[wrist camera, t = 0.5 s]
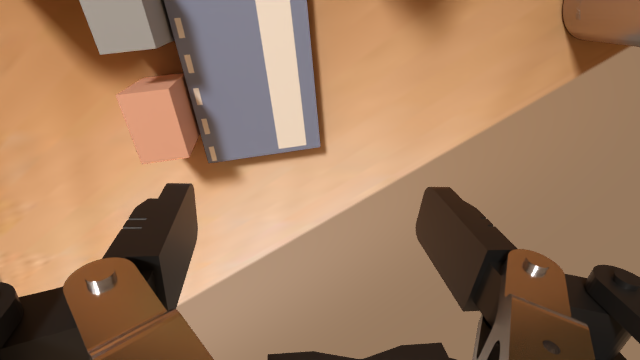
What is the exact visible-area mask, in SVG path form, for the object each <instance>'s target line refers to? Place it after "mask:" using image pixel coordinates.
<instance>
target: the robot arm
mask: <svg viewBox="0 0 640 360" xmlns="http://www.w3.org/2000/svg"><path fill="white" fill-rule="evenodd" d="M563 19H564V23H565V26H566V28H567V30H568V31H569V33H570V34H572V35H573V36H574V37H576V38H578V39H580V40H588V41H596V42H604V43H613V44H620V45H629V46H637V47H640V0H564V3H563ZM197 231H198V226H197V215H196V205H195V194H194V187H193V185H192V184H178V183H168V184H166V186H165V187H164V189H163V191H162V193H161V194H160V196H159V198H158V199H147V200H146V201H144V202H143V203H141V204H140V205H138V206H137V207H136V208H135V209H134V211H133V212H132V214H131V215H130V217H129V220H127V221H126V223H125V224H124V226H123V229H121V231H120V232H119V234H118V235H117V237H116V238H115V240H114V241H113V243H112V244H111V246H110V247H109V249H108V250H107V252H106V253H105V255H104V256H103V258H102V259H100V260H96V261H93V262H91V263H88V264H86V265H84V266H82V267H81V268H79V269H77V270H76V271H75V272H74V273H72V274H71V275H70V276H69V277H68V279H67V280H66V281H65V283H64V286H63V287H60V288H56V289H52V290H48V291H44V292H40V293H35V294H31V295H27V296H23V297H18V295H17V293H16V291H15V289H14V288H13V286H11V285H9V284H7V283H2V282H0V360H214V359H213V357H212V356H211V355H210V353H209V352H208V351H207V349H206V348H205V347H204V345H203V344H202V342H201V341H200V340H199V338H198V337H197V336H196V334H195V333H194V332H193V330H192V329H191V327H190V326H189V325H188V323H187V322H186V321H185V319H184V318H183V317H182V315H181V314H180V313H179V312H178V311H177V310H176V307H177V303H178V300H179V297H180V294H181V290H182V287H183V284H184V281H185V277H186V274H187V271H188V267H189V264H190V261H191V258H192V254H193V251H194V248H195V245H196V240H197ZM416 235H417V238H418V240H419V242H420V244H421V245H422V247H423V249H424V250H425V252H426V253H427V255H428V256H429V258H430V260H431V261H432V263H433V264H434V266H435V267H436V269H437V271H438V272H439V274H440V275H441V277H442V279H443V280H444V282H445V283H446V285H447V286H448V288H449V290H450V291H451V293H452V295H453V296H454V298H455V299H456V301H457V302H458V304H459V306H460V307H461V309H462V310H463V311H480V312H481V313H482V315H481V318H480V320H479V323H478V328H477V335H476V341H475V347H474V353H473V359H472V360H626V358H624V356H623V355H622V354H621V353H620V350H621V349H622V347H623V346H624V345H625V344H626V342H627V341H628V340H629V338H630V337H631V336H633V337H634V338H635V339H636V340H637V341H638V342H639V343H640V277H638V276H636V275H634V274H633V273H630V272H628V271H626V270H623V269H621V268H617V267H614V266H609V265H598V266H595V267H594V268H593V270H592V272H591V273H590V275H589V277H588V278H583V277H578V276H573V275H568V274H564V272H563V270H562V269H561V268H560V266H558V265H557V264H556V263H555V262H554V261H552V260H551V259H549V258H547V257H546V256H544V255H541V254H539V253H537V252H534V251H530V250H525V249H517V248H516V247H515V246H514V245H513V244H512V243H511V242H510V241H509V240H508V239H507V238H506V237H505V236H504V235H503V234H502V233H501V232H500V231H499V230H498V229H497V228H496V227H493V224H492V223H491V222H490V221H489V220H488V219H486V217H485V216H484V215H483V214H482V213H481V212H480V211H479V210H478V209H477V208H475V207H473V206H472V205H470V204H468V203H467V202H465V201H463V200H462V199H461V198H460V197H459V196H458V195H457V194H456V193H455V192H454V191H453V190H452V189H451V188H450V187H428V188H427V189H426V190H425V192H424V195H423V199H422V203H421V207H420V211H419V215H418V218H417V222H416ZM268 360H456V359H452V358H449V357H448V355H447V353H446V351H445V349H444V347H443V345H442V343H430V344H415V345H401V346H398V347H396V348H393V349H390V350H387V351H384V352H382V353H379V354H376V355H373V356H370V357H368V358H364V359H354V358H348V357H342V356H337V355H331V354H325V353H319V352H314V351H312V352H298V353H282V354H268Z"/></svg>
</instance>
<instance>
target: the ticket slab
mask: <svg viewBox="0 0 640 360" xmlns="http://www.w3.org/2000/svg"><path fill="white" fill-rule="evenodd" d="M164 3H165V7H166V10H167V14H168V17H169V21H170V25H171V28H172V32H173V36H174V39H175V43H176V47H177V50H178V54H179V58H180V61H181V65H182V68H183V72H184V76H185V79H186V83H187V87H188V90H189V94H190V98H191V101H192V105H193V108H194V112H195V116H196V119H197V123H198V127H199V130H200V134H201V138H202V141H203V145H204V149H205V152H206V156H207V159H208V163H215V162H222V161H229V160H235V159H242V158H249V157H256V156H263V155H270V154H277V153H283V152H290V151H297V150H304V149H311V148H318V147H320V137H319V126H318V115H317V105H316V94H315V83H314V72H313V62H312V51H311V40H310V30H309V19H308V8H307V0H164Z"/></svg>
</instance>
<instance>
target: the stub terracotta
mask: <svg viewBox="0 0 640 360" xmlns="http://www.w3.org/2000/svg"><path fill="white" fill-rule="evenodd" d="M116 98H117V100H118V103H119V106H120V108H121V111H122V114H123V116H124V119H125V121H126V124H127V127H128V129H129V132H130V135H131V137H132V140H133V142H134V145H135V148H136V150H137V153H138V155H139V158H140V161H141V163H142V164H148V163H155V162H162V161H169V160H176V159H183V158H189V157H190V155H191V152H192V150H193V148H194V146H195V143H196V141H197V139H198V137H199V134H200V130H199V127H198V123H197V119H196V116H195V112H194V108H193V105H192V101H191V98H190V94H189V90H188V87H187V83H186V79H185V76H184V73H179V74H170V75H162V76H153V77H145V78H141V79H140V80H138V81H137V82H135V83H134V84H132V85H131V86H129V87H128V88H126V89H124V90H123V91H121V92H120V93H118V94H117V95H116Z"/></svg>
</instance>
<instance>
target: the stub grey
mask: <svg viewBox="0 0 640 360" xmlns="http://www.w3.org/2000/svg"><path fill="white" fill-rule="evenodd" d="M79 1H80V4H81V6H82V9H83V12H84V14H85V17H86V19H87V22H88V25H89V27H90V30H91V32H92V35H93V38H94V40H95V43H96V46H97V48H98V51H99V53H100V55H102V54H111V53H120V52H129V51H138V50H148V49H156V48H159V47H161V46H163V45H165V44H167V43H170V42H172V41H174V40H175V39H174V36H173V32H172V28H171V25H170V21H169V17H168V14H167V10H166V7H165V3H164V0H79Z"/></svg>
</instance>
